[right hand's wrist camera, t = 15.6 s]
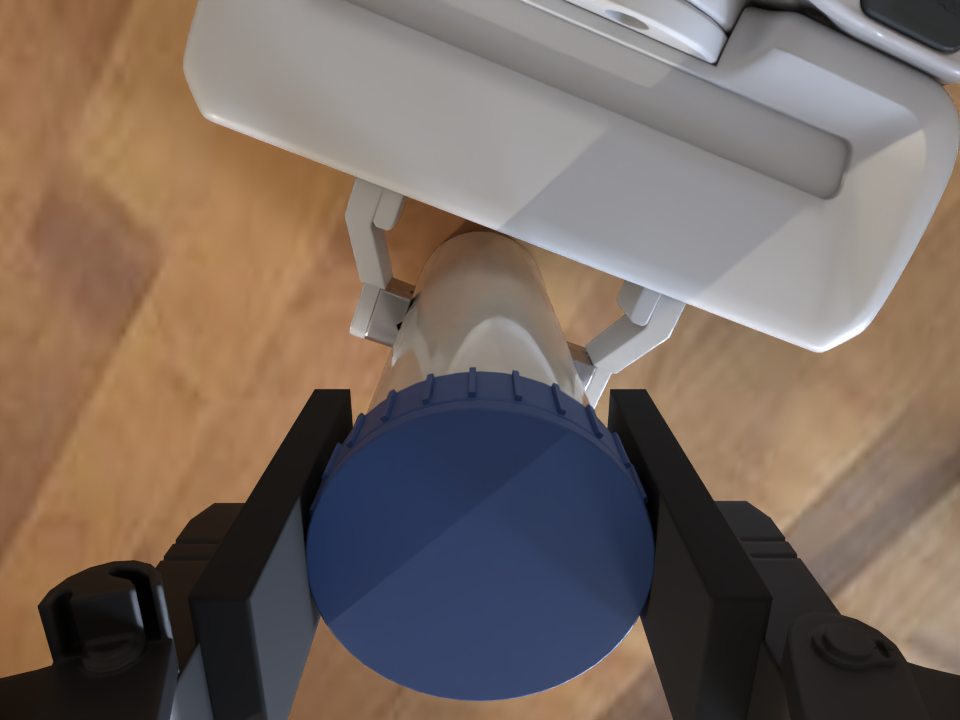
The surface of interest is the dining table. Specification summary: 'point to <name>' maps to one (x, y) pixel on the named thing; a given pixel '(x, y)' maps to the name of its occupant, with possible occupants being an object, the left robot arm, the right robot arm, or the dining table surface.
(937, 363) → the dining table surface
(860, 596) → the dining table surface
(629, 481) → the lid
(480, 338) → the cream cylinder
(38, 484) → the dining table surface
